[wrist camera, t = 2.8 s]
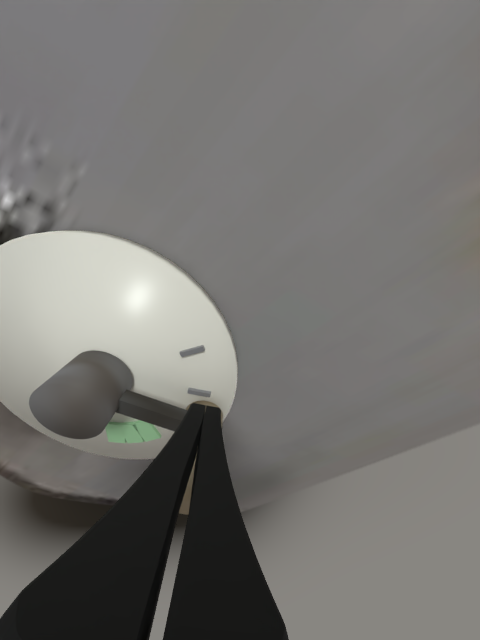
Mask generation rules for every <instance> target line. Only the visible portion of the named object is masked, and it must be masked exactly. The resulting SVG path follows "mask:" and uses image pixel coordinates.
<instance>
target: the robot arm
mask: <svg viewBox="0 0 480 640" xmlns="http://www.w3.org/2000/svg"><path fill="white" fill-rule="evenodd" d="M205 408H206V409H205ZM204 413H205V414H204ZM197 449H198V450H197ZM196 454H197V455H196ZM195 458H196V462H195V469H194V477H193V485H192V492H191V499H190V507H189V514H188V520H187V525H186V530H185V535H184V539H183V545H182V550H181V554H180V559H179V564H178V569H177V574H176V578H175V583H174V588H173V593H172V598H171V603H170V608H169V613H168V617H167V622H166V627H165V632H164V637H163V640H289V639H288V635H287V631H286V627H285V624H284V622H283V619H282V617H281V614H280V612H279V610H278V608H277V606H276V603H275V601H274V599H273V596H272V594H271V592H270V590H269V587H268V585H267V582H266V580H265V577H264V575H263V573H262V570H261V568H260V565H259V563H258V560H257V558H256V555H255V552H254V550H253V547H252V544H251V542H250V539H249V536H248V533H247V531H246V528H245V525H244V522H243V519H242V516H241V513H240V509H239V506H238V503H237V500H236V496H235V493H234V489H233V486H232V482H231V478H230V473H229V469H228V465H227V460H226V455H225V449H224V444H223V437H222V428H221V409H220V408H219V407H213V406H207V405H202V404H196V403H192V404H191V405H190V407H189V409H188V411H187V413H186V415H185V416H184V418H183V420H182V421H181V423H180V425H179V426H178V428H177V429H176V431H175V432H174V434H173V435H172V436H171V438H170V439H169V441H168V442H167V444H166V445H165V446H164V448H163V449H162V450H161V451H160V453H159V454H158V455H157V457H156V458H155V459H154V460H153V462H152V463H151V464H150V465H149V467H148V468H147V469H146V470H145V471H144V473H143V474H142V475H141V476H140V477H139V478H138V479H137V481H136V482H135V483H134V484H133V485H132V486H131V487H130V488H129V490H128V491H127V492H126V493H125V494H124V495H123V496H122V497H121V498H120V499H119V500H118V501H117V502H116V503H115V504H114V505H113V506H112V508H111V509H110V510H109V511H108V512H107V513H106V514H105V515H104V516H103V517H102V518H101V519H100V520H99V521H97V522H96V523H95V524H94V525H93V526H92V527H91V528H90V529H89V530H88V531H87V532H86V533H85V534H84V535H83V536H82V537H81V538H80V539H79V540H78V541H77V542H76V543H75V544H74V545H73V546H71V547H70V548H69V549H68V550H67V551H66V552H65V553H64V554H63V555H61V556H60V557H59V558H58V559H57V560H56V561H55V562H54V563H52V564H51V565H50V566H49V567H48V568H47V569H46V570H45V571H44V572H42V573H41V574H40V575H39V576H38V577H37V578H36V579H34V580H33V581H32V582H31V583H30V584H29V585H28V586H27V587H25V588H24V589H23V590H22V592H21V593H20V594H19V595H18V597H17V598H16V599H15V600H14V602H13V603H12V604H11V605H10V607H9V608H8V609H7V610H6V612H5V613H4V614H3V616H2V617H1V619H0V640H149V637H150V632H151V628H152V623H153V619H154V615H155V611H156V606H157V601H158V597H159V593H160V589H161V584H162V580H163V576H164V571H165V567H166V563H167V558H168V554H169V550H170V545H171V541H172V537H173V533H174V528H175V524H176V521H177V517H178V514H179V510H180V507H181V504H182V501H183V497H184V494H185V491H186V488H187V483H188V480H189V477H190V474H191V471H192V468H193V465H194V461H195Z"/></svg>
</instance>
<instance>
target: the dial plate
mask: <svg viewBox="0 0 480 640" xmlns="http://www.w3.org/2000/svg"><path fill="white" fill-rule="evenodd" d="M91 350H96V351H103V352H106V353H109V354H112V355H114V356H115V357H117V358H119V359H120V360H121V361H122V362H124V363H125V364H126V366H127V367H128V368H129V370H130V372H131V374H132V377H133V386H132V388H131V390H130V391H132V392H135V393H138V394H141V395H144V396H147V397H150V398H153V399H156V400H159V401H162V402H165V403H168V404H171V405H174V406H176V407H179V408H182V409H185V410H186V408H187V406H188V405H189V404H191V403H193V402H196V401H209V402H212V403H214V404H216V405H217V406H218V407H219V408H220V409H221V410H222V412H223V421H224V420H225V418H226V416H227V415H228V413H229V411H230V409H231V406H232V403H233V401H234V398H235V392H236V386H237V372H238V360H237V353H236V347H235V343H234V340H233V337H232V333H231V331H230V329H229V326H228V324H227V322H226V320H225V318H224V316H223V314H222V313H221V311H220V310H219V308H218V307H217V305H216V303H215V302H214V300H213V299H212V298H211V297H210V296H209V294H208V293H207V292H206V291H205V290H204V289H203V287H202V286H201V285H200V284H199V283H198V282H197V281H195V280H194V279H193V278H192V277H191V276H190V275H189V274H188V273H187V272H186V271H184V270H183V269H182V268H180V267H179V266H177V265H176V264H175V263H173V262H172V261H171V260H169V259H168V258H166V257H164V256H162V255H161V254H159V253H157V252H155V251H154V250H152V249H150V248H147V247H145V246H143V245H140V244H138V243H136V242H133V241H131V240H128V239H124V238H121V237H117V236H114V235H110V234H105V233H99V232H92V231H72V230H65V231H53V232H44V233H37V234H29V235H26V236H23V237H20V238H16V239H13V240H10V241H8V242H6V243H4V244H2V245H0V402H1V403H3V404H4V405H5V406H6V407H7V408H8V409H9V410H10V411H11V412H12V413H14V414H15V415H16V416H18V417H19V418H20V419H22V420H23V421H24V422H25V423H27V424H28V425H30V426H32V427H33V428H35V429H36V430H38V431H39V432H41V433H43V434H45V435H47V436H49V437H50V438H52V439H54V440H57V441H59V442H61V443H63V444H65V445H68V446H71V447H73V448H76V449H79V450H82V451H85V452H89V453H92V454H96V455H101V456H106V457H112V458H120V459H153V458H156V457H157V455H158V454H159V453H160V451H161V450H162V449H163V448H164V446H165V445H166V444H167V442H168V441H169V439H170V438H171V436H172V435H173V434H174V432H175V431H172V430H168V429H165V428H162V427H159V426H156V425H153V424H150V423H147V422H144V421H141V420H138V419H134V418H131V417H128V416H125V415H122V414H119V413H116V412H115V414H114V415H113V417H112V418H111V420H110V421H109V423H108V424H107V426H106V427H105V429H104V430H103V432H102V433H101V434H99V435H98V436H96V437H93V438H89V439H72V438H67V437H64V436H61V435H58V434H56V433H54V432H52V431H50V430H49V429H47V428H46V427H44V426H43V425H42V424H41V423H39V422H38V420H37V419H36V418H35V417H34V415H33V414H32V412H31V410H30V406H29V399H30V396H31V394H32V393H33V392H34V391H35V390H36V389H37V388H38V387H39V386H41V385H42V384H43V383H44V382H46V381H47V380H48V379H49V378H50V377H52V376H53V375H54V374H55V373H57V372H58V371H59V370H60V369H61V368H63V367H64V366H65V365H66V364H68V363H69V362H70V361H71V360H72V359H74V358H75V357H76V356H77V355H79V354H80V353H82V352H85V351H91Z"/></svg>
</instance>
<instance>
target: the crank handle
mask: <svg viewBox="0 0 480 640" xmlns="http://www.w3.org/2000/svg"><path fill="white" fill-rule="evenodd" d="M132 386H133V377H132V374H131V372H130V370H129V368H128V367H127V366H126V364H125V363H124V362H122V361H121V360H120V359H119V358H117V357H115V356H114V355H112V354H109V353H106V352H103V351H96V350H91V351H85V352H82V353H80V354H79V355H77V356H76V357H75V358H74V359H72V360H71V361H70V362H69V363H68V364H66V365H65V366H64V367H63V368H61V369H60V370H59V371H58V372H57V373H55V374H54V375H53V376H52V377H50V378H49V379H48V380H47V381H46V382H44V383H43V384H42V385H41V386H39V387H38V388H37V389H36V390H35V391H34V392H33V393H32V394H31V396H30V399H29V406H30V410H31V412H32V414H33V415H34V417H35V418H36V419H37V420H38V422H39V423H41V424H42V425H43V426H44V427H46V428H47V429H49V430H50V431H52V432H54V433H56V434H58V435H61V436H64V437H67V438H72V439H89V438H93V437H96V436H98V435H99V434H101V433H102V432H103V430H104V429H105V427H106V426H107V424H108V423H109V421H110V420H111V418H112V417H113V415H114V414H115V412H116V413H119V414H122V415H125V416H128V417H131V418H134V419H138V420H141V421H144V422H147V423H150V424H153V425H156V426H159V427H162V428H165V429H168V430H172V431H176V429H177V428H178V426H179V425H180V423H181V421H182V420H183V418H184V416H185V415H186V413H187V411H188V409H189V407H190V405H191V404H192V403H191V404H189V405H188V406H187V408H186V410H185V409H182V408H179V407H176V406H174V405H171V404H168V403H165V402H162V401H159V400H156V399H153V398H150V397H147V396H144V395H141V394H138V393H135V392H132V391H130V390H131V388H132ZM193 403H196V404H202V405H207V406H213V407H218V406H217V405H216V404H214V403H212V402H209V401H196V402H193ZM205 409H206V408H205ZM204 414H205V413H204ZM222 422H223V412H222V410H221V428H222ZM197 450H198V449H197ZM196 455H197V454H196ZM195 462H196V458H195V461H194V465H193V468H192V471H191V474H190V477H189V480H188V483H187V488H186V491H185V494H184V497H183V501H182V504H181V507H180V510H179V513H180V514H187V515H188V514H189V507H190V499H191V492H192V485H193V477H194V469H195Z"/></svg>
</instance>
